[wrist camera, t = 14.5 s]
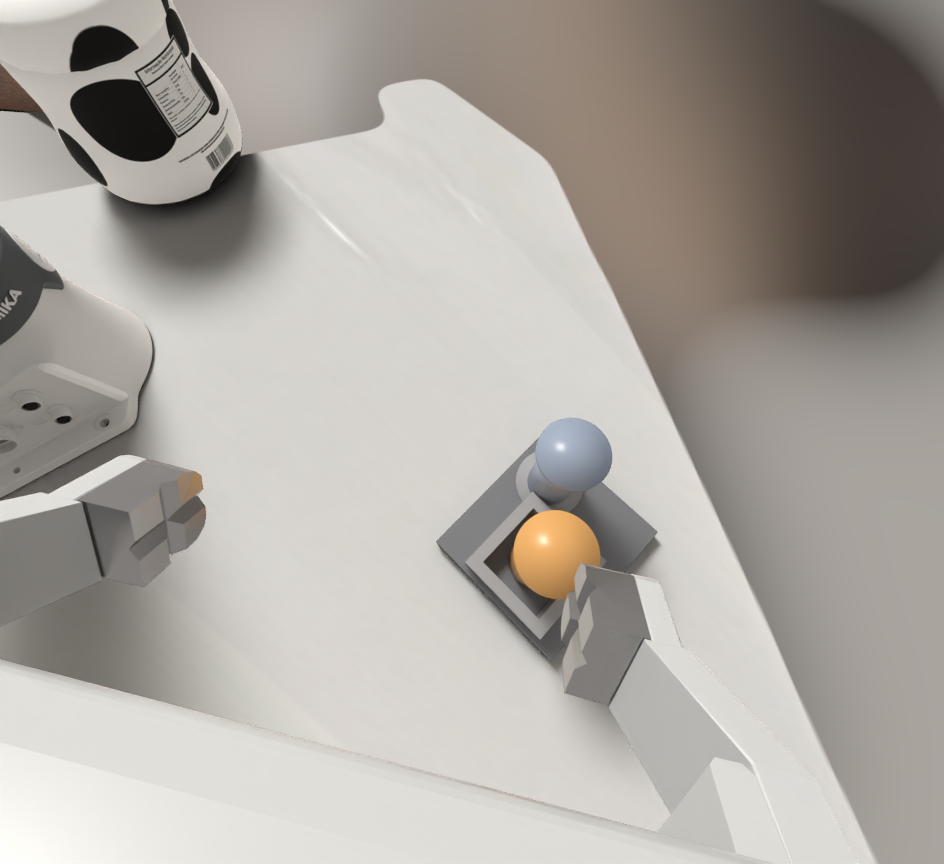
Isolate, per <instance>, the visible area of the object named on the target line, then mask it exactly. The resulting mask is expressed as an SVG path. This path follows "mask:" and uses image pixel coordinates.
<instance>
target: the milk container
mask: <svg viewBox="0 0 944 864" xmlns="http://www.w3.org/2000/svg"><path fill="white" fill-rule="evenodd" d="M0 64H1V65H2V66H3V67H4V68H5V69H6V70H7V71H8V73H9V74H10V75H11V76H12V77H13V78H14V79H15V80H16V81H17V82H18V83H19V84H20V85H21V86H22V88H23V89H24V90H25V91H26V92H27V93H28V94H29V95H30V96H31V97H32V98H33V99H34V100H35V102H36V103H37V104H38V105H39V106H40V108H41V109H42V110H43V111H44V113H45V114H46V115H47V117H48V118H49V120H50V121H51V123H52V125H53V127H54V129H55V130H56V132H57V134H58V136H59V137H60V139H61V141H62V142H63V144H64V146H65V147H66V148H67V150H68V152H69V153H70V154H71V156H72V157H73V158H74V159H75V161H76V162H77V163H78V164H79V165H80V166H81V167H82V168H83V169H84V170H85V171H86V172H87V173H88V174H89V175H90V176H91V177H92V178H94V179H95V180H96V181H97V182H98V183H100V184H101V185H102V186H103V187H105V188H106V189H107V190H109V191H110V192H112V193H113V194H115V195H117V196H119V197H122V198H124V199H126V200H128V201H131V202H134V203H139V204H145V205H155V206H159V205H169V204H177V203H184V202H187V201H189V200H192V199H194V198H196V197H199V196H202V195H205V194H207V193H208V192H210V191H211V190H212V189H214V188H215V187H216V186H218V185H219V184H220V183H222V182H223V181H225V179H226V178H227V177H228V176H229V175H230V173H231V172H232V171H233V169H234V168H235V166H236V165H237V163H238V161H239V158H240V154H241V149H242V132H241V128H240V124H239V121H238V117H237V114H236V112H235V109H234V106H233V104H232V102H231V100H230V98H229V96H228V94H227V92H226V91H225V89H224V87H223V86H222V84H221V83H220V81H219V80H218V79H217V77H216V76H215V75H214V73H213V72H212V71H211V70H210V69H209V67H208V66H207V64H206V63H205V62H204V61H203V59H202V58H201V57H200V55H199V54H198V52H197V51H196V49H195V47H194V45H193V43H192V41H191V39H190V37H189V36H188V34H187V31H186V29H185V27H184V25H183V23H182V21H181V18H180V16H179V14H178V12H177V10H176V8H175V6H174V4H173V2H172V0H0Z"/></svg>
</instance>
